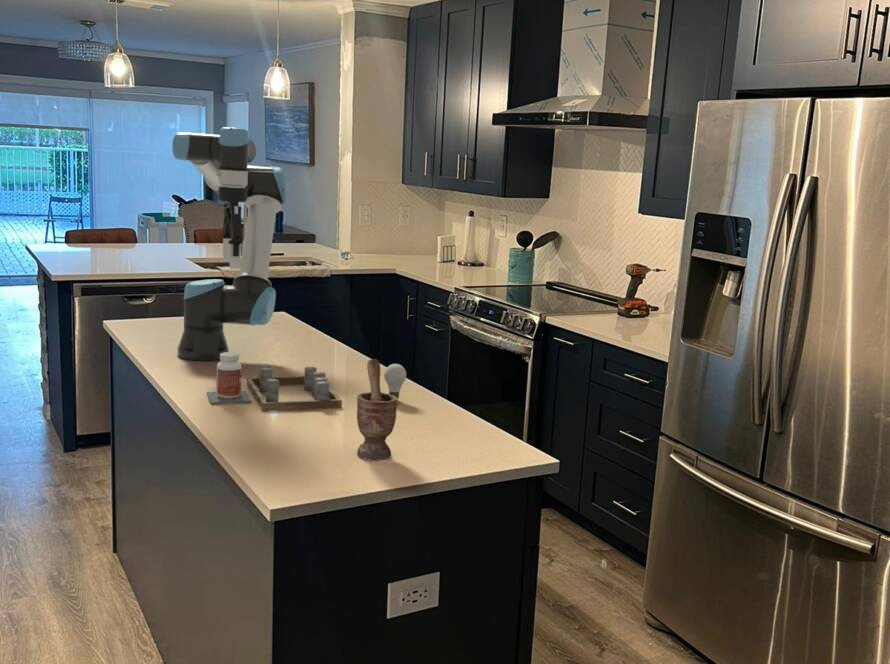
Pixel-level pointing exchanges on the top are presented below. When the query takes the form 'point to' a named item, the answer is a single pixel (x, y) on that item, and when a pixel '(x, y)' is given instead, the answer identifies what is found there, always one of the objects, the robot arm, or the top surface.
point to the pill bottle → (229, 376)
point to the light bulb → (395, 378)
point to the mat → (217, 400)
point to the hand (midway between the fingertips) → (231, 265)
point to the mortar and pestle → (375, 416)
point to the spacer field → (310, 380)
